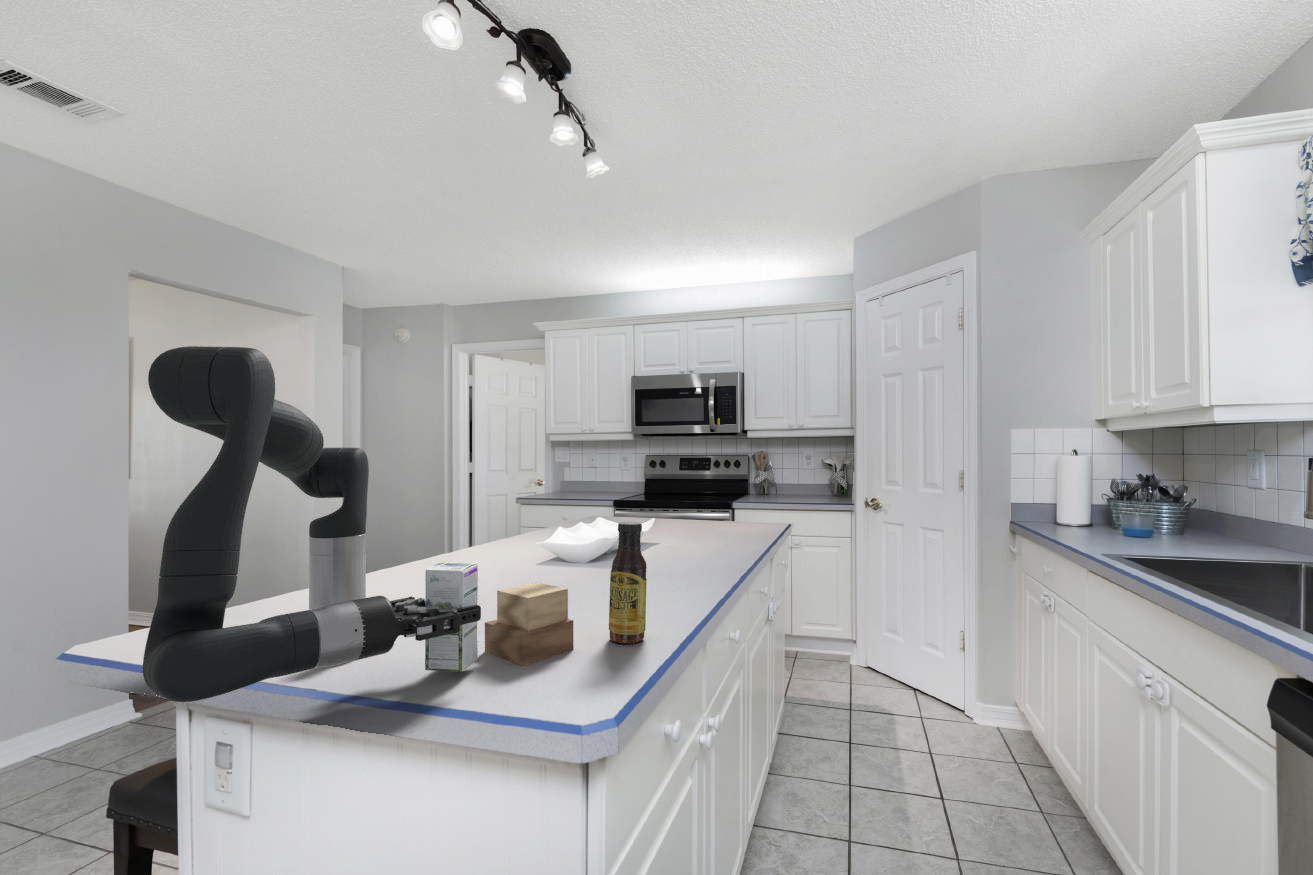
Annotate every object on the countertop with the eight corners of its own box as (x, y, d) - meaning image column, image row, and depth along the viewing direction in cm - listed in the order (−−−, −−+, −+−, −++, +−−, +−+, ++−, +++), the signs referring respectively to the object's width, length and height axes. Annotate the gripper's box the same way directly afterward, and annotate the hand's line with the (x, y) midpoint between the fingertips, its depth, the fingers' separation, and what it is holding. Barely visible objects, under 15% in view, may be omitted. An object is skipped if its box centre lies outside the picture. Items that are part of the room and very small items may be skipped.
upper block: (497, 621, 98) (497, 590, 98) (536, 611, 104) (536, 582, 104) (528, 630, 93) (528, 597, 93) (567, 619, 99) (567, 588, 99)
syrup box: (478, 659, 91) (479, 561, 91) (462, 673, 85) (463, 568, 85) (442, 657, 91) (442, 560, 92) (423, 671, 86) (424, 568, 86)
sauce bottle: (602, 643, 102) (601, 523, 102) (618, 632, 107) (617, 519, 108) (638, 647, 99) (637, 525, 100) (653, 636, 105) (651, 521, 105)
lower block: (484, 653, 98) (484, 622, 98) (535, 639, 105) (535, 610, 105) (522, 667, 91) (522, 634, 91) (573, 651, 99) (573, 620, 99)
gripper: (372, 611, 73) (491, 588, 85) (328, 592, 83) (440, 574, 95) (372, 674, 73) (491, 642, 85) (327, 648, 82) (439, 623, 94)
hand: (464, 607), depth 90 cm, fingers closed on syrup box, 8 cm apart
